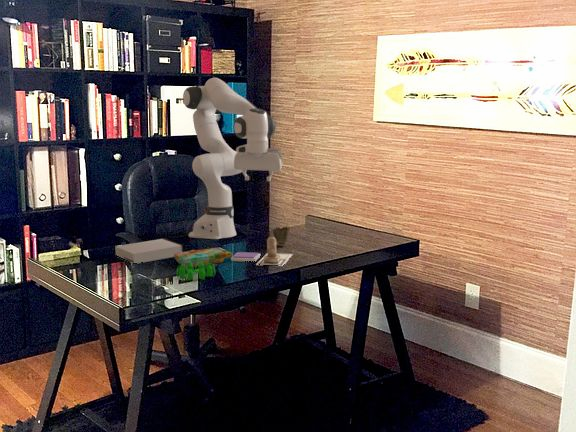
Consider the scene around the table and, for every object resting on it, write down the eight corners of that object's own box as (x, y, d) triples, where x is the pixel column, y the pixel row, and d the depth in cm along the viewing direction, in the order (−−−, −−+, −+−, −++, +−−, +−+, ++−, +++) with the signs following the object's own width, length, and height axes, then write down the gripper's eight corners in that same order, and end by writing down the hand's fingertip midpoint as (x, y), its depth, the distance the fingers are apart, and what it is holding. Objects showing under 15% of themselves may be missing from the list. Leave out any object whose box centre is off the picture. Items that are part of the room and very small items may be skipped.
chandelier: (223, 278, 239) (222, 259, 237) (184, 284, 231) (184, 265, 230) (206, 269, 251) (205, 251, 250) (169, 275, 244) (168, 257, 242)
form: (255, 265, 255) (255, 264, 255) (266, 253, 273) (266, 252, 273) (283, 266, 253) (283, 265, 253) (292, 254, 271) (292, 253, 271)
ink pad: (230, 260, 262) (230, 256, 262) (237, 255, 271) (236, 251, 270) (255, 261, 260) (254, 257, 260) (260, 256, 269) (260, 252, 268)
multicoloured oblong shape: (173, 251, 260) (219, 245, 270) (174, 263, 261) (220, 256, 271) (184, 257, 250) (232, 250, 260) (185, 269, 251) (232, 262, 261)
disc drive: (184, 256, 273) (183, 244, 272) (134, 265, 260) (133, 253, 259) (164, 249, 287) (163, 237, 286) (115, 257, 273) (114, 245, 272)
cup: (290, 244, 290) (290, 226, 288) (289, 248, 282) (288, 229, 281) (273, 244, 290) (273, 226, 289) (271, 247, 283) (271, 229, 282)
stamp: (263, 263, 257) (263, 237, 255) (266, 260, 261) (265, 235, 259) (277, 263, 256) (277, 238, 254) (280, 260, 260) (279, 235, 258)
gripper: (283, 147, 275) (283, 180, 278) (236, 146, 280) (237, 178, 282) (280, 149, 269) (280, 182, 272) (232, 148, 274) (232, 180, 276)
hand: (257, 180), depth 277 cm, fingers open, 8 cm apart
